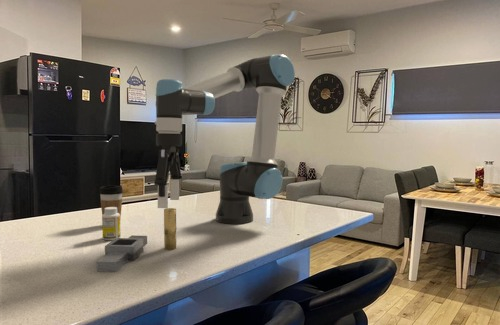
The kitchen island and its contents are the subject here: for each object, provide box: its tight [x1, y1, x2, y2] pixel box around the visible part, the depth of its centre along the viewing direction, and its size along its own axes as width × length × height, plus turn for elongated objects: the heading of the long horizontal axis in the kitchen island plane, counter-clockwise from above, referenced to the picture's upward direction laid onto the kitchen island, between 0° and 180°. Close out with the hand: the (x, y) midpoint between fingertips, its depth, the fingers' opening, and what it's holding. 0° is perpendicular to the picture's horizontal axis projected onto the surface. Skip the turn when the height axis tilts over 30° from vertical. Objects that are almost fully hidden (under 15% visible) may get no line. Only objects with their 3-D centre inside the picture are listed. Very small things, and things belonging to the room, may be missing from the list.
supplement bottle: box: [101, 207, 121, 241], centre depth 126 cm, size 6×6×10 cm
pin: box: [163, 207, 177, 251], centre depth 116 cm, size 4×4×12 cm
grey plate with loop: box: [96, 235, 148, 273], centre depth 108 cm, size 24×8×4 cm, turn 177°
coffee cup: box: [98, 184, 124, 221], centre depth 143 cm, size 8×8×15 cm
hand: (169, 203), depth 115 cm, fingers open, 13 cm apart
